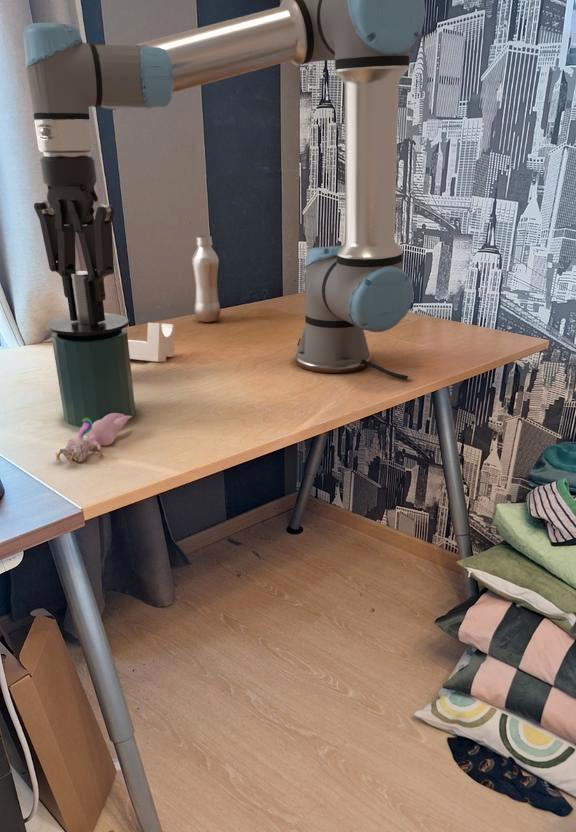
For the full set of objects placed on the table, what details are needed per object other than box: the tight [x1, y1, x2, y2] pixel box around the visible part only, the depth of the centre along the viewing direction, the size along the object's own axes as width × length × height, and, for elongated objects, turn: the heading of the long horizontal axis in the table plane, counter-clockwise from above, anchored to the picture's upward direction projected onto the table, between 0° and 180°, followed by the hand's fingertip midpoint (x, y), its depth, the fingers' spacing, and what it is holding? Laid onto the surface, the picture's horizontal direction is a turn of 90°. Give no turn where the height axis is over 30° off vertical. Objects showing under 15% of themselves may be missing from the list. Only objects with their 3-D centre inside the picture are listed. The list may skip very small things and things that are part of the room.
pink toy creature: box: [55, 413, 133, 468], centre depth 109 cm, size 6×6×15 cm
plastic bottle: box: [191, 235, 222, 323], centre depth 175 cm, size 6×7×20 cm
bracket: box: [128, 322, 176, 363], centre depth 151 cm, size 13×7×8 cm, turn 72°
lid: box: [46, 270, 130, 336], centre depth 112 cm, size 13×13×9 cm
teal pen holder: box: [51, 327, 137, 428], centre depth 118 cm, size 12×12×14 cm
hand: (87, 320), depth 113 cm, fingers closed on lid, 3 cm apart
